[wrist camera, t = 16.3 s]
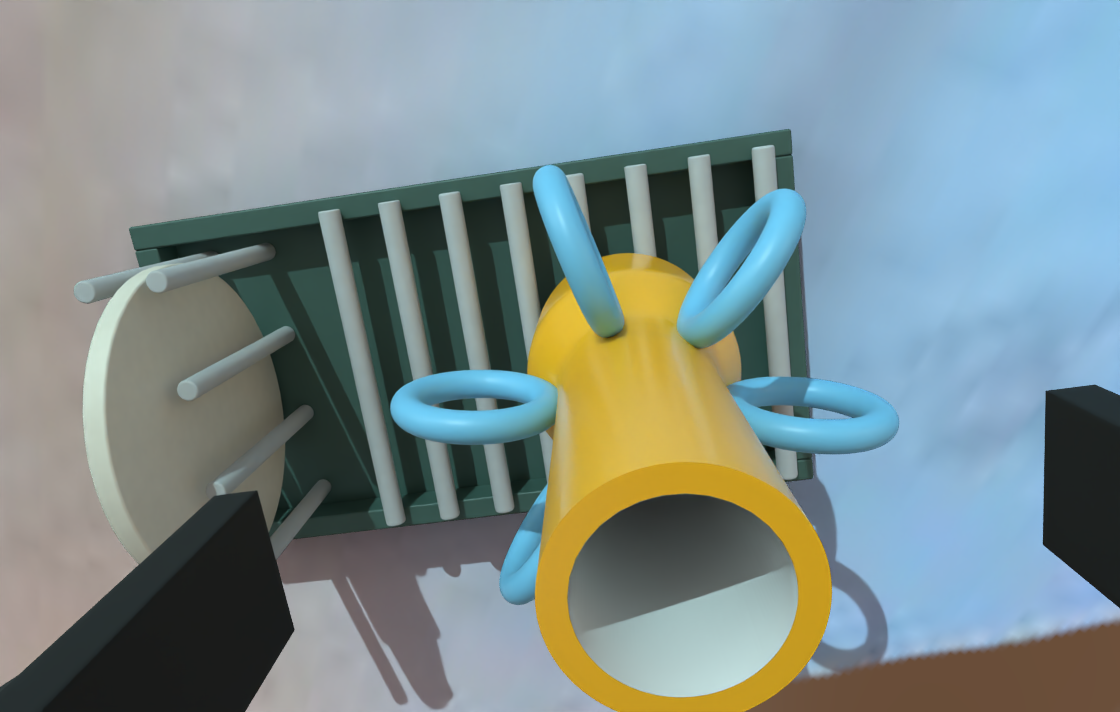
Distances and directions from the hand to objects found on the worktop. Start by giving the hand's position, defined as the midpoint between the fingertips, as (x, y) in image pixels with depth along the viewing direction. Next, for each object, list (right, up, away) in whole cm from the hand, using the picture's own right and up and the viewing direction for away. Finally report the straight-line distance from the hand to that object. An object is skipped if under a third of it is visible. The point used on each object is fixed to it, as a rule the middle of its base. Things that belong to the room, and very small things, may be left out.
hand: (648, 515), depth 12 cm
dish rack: (-4, +3, +16) cm, 16 cm away
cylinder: (+1, +3, +12) cm, 13 cm away
